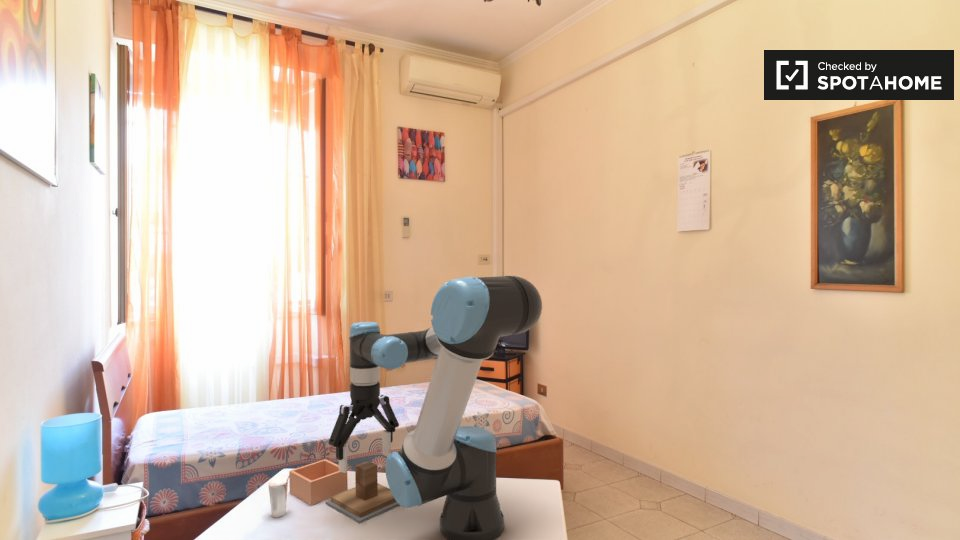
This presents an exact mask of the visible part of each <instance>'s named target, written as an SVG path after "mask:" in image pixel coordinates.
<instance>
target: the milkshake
mask: <svg viewBox="0 0 960 540" xmlns="http://www.w3.org/2000/svg"><path fill="white" fill-rule="evenodd" d="M289 476H290V475H289V474H288V477H287V478H286V477H284V476H274V477H273V478H271V479H270V480H269V481H268V483H267V485H268V493H269V503H270V512H271V514H270V515H271V516H272V517H273V518H282V517H283V516H285V515H286V513H287V495H288V486H289V485H288V484H289Z"/></svg>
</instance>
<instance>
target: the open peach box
mask: <svg viewBox="0 0 960 540" xmlns="http://www.w3.org/2000/svg"><path fill="white" fill-rule="evenodd" d="M289 475H290V476H289ZM288 477H289V479H288V484H289V494H291V495H292V496H294V497H296V498H297V499H299V500H300V501H303V502H304V503H306V504H308V505H309V506H313V505H316V504H318V503H321V502H324V501H327V500H330V499H331V497H332V496H334V495H337V494H339V493H342V492H344V491H347V490H349V488H348V485H349V484H348V472H347V473H343V472H341V471H339V464H337V463H334V462H332V461H331V460H328V459H327V458H324V459H321V460H319V461H315V462H312V463H309V464H306V465H304V466H300V467H297V468H294V469H291V470H289V474H288Z"/></svg>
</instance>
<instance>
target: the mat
mask: <svg viewBox="0 0 960 540" xmlns="http://www.w3.org/2000/svg"><path fill="white" fill-rule="evenodd" d="M324 501H325V505H326V506H329V507H330V508H332V509H334V510H335V511H338V512H339V513H341V514H343V515H344V516H345V517H348V518H349V519H351V520H353V521H355V522H356V523H358V524H361V523H363V522H365V521H368V520H370V519H372V518H374V517H376V516H379V515H380V514H383V513H385V512H387V511H390V510H392V509H394V508H396V507H398V506H400V505H399V504H398V503H397V502H395V503H393V504H390V505H388V506H386V507H384V508H381V509H379V510H377V511H375V512H373V513H370V514H368V515H366V516H364V517H361V518H360V517H358V516H356V515H354V514H353V513H351V512H349V511H347V510H345V509H344V508H342V507H340V506H338V505H337V504H335V503H333V502H331V499H327V500H324Z"/></svg>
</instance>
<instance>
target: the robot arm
mask: <svg viewBox="0 0 960 540" xmlns="http://www.w3.org/2000/svg"><path fill="white" fill-rule="evenodd" d="M542 311H543V301H542V297H541V295H540V292H539V291H538V289H537V288H536V286H535V285H534V284H533V283H532V282H530V281H529V280H528V279H526V278H524V277H520V276H517V275H504V276H503V275H502V276H501V275H500V276H481V277H477V276H464V277H461V278H453V279H451V280H449V281H446V282H445V283H443V284H442V285H441V286H440V287H439V288H438V290H437V292H436V293H435V295H434V297H433V300H432V303H431V307H430V316H432V319H431V320H430V321H431V327H428V328H426V329H424V330H419V331H409V332H401V333H391V334H383V333H381V328H380V325H379V323H378V322H375V321H359V322H354V323H352V324H351V325H350V327H349V328H350V330H349V337H348V339H349V362H350V363H349V364H350V365H349V370H350V371H349V376H350V377H349V381H350V382H351V383H350V385H349V387H350V388H349V393H350V394H349V396H350V404H349V405H344V404H341V405H340V406H339V414H338V417H337V418H336V422H335V424H334V427H333V428H332V432H331V434H330V438H329V439H328V445H329V446H332V447H335V459H336V460H338V465H339V471H341V472H343V473H347V474H348V446H346V444H347V442H348V440H349V438H350V436H351V435H352V434H353V431H354V430H355V428H356V427H357V425H358V424H359V423H360V422H361V421H362V420H366V419H369V418H370V419H371V418H373V417H374V418H375V419H376V421H377V422H378V423H379V424H380V425H381V427H383V428H384V430H381V431H382V432H381V433H382V435H381V437H382V439H381V441H382V443H381V444H382V449H381V450H382V452H381V453H382V456H385V457H386V459H385V464H384V465H385V466H384V467H385V468H384V469H385V476H386V482H387V484H388V488H389V489H390V491H391V493H392V495H393V497H394V498H395V500H396V501H397V503H398V504H399V506H401V507H402V508H406V509H410V508H413V507H421V506H422V505H424V504H427V503H430V502H432V501H435V500H437V499H441V498H443V497H445V496H446V497H445V500H444V503H443V507H442V512H441V514H440V517H439V531H440V533H441V535H442V536H443V537H444V538H446V539H448V540H496V539H497V538H498V537H500V536H501V534H502V533H503V532H504V530H505V517H504V516H505V515H504V513H503V511H502V510H501V506H500V505H501V504H500V501H499V499H498V498H499V497H498V495H497V452H498V451H497V443H496V436H495V435H494V433H493V432H492V431H490V430H488V429H485V428H482V427H478V426H472V425H461V423H462V420H463V417H464V414H465V411H466V409H467V406H468V403H469V400H470V397H471V394H472V391H473V389H474V386H475V383H476V380H477V378H478V376H479V375H478V374H479V372H480V369H481V366H482V363H483V361H484V360H488V359H490V358H491V357H492V356H493V355H494V353H495V352H496V348H497V345H498V343H499V340H500V338H501V337H507V336H513V335H520V334H522V333H526V332H528V331H529V330H531V329H533V327H534V326H535V325H536V324H537V323H538V321H539V320H540V318H541V315H542ZM426 360H428V361H429V360H436V361H435V364H434V368H433V371H432V374H431V378H430V381H429V384H428V388H427V390H426V392H425V397H424V400H423V403H422V406H421V410H420V412H419V416H418V419H417V422H416V425H415V429H414V430H412V431H410V432H409V433H407V435H405V437H404V440H403V443H402V446H401V449H400V450H399V451H393V452H392V449H391V448H392V443H393V440H394V439H393V435H394V434H393V433H395V432H396V428H398V427H399V426H400V424H399V420H397V417H396V415H395V412H394V410H393V408H392V406H391V403H390V397H389V396H387V395H384V394H381V389H380V388H381V383H380V382H379V381H380V380H381V368H383V369H387V370H397V369H399V368H400V367H402V365H404V364H409V363H415V362H420V361H426ZM379 406H381V408H382V411H383V412H384V415H385V416H384V415H383V414H382V411H381V410H380V409H379Z"/></svg>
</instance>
